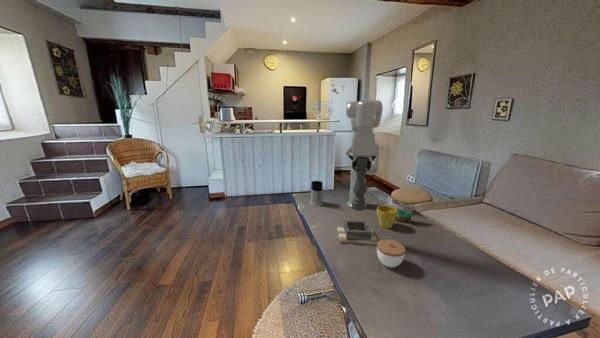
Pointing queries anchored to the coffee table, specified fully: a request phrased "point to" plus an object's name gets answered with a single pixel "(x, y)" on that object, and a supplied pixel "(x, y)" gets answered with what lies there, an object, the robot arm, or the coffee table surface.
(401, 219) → the food container
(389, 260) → the lidded jar
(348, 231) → the socket board
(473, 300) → the coffee table surface
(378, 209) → the plant pot
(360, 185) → the candle holder
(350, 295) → the coffee table surface
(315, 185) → the glass holder
